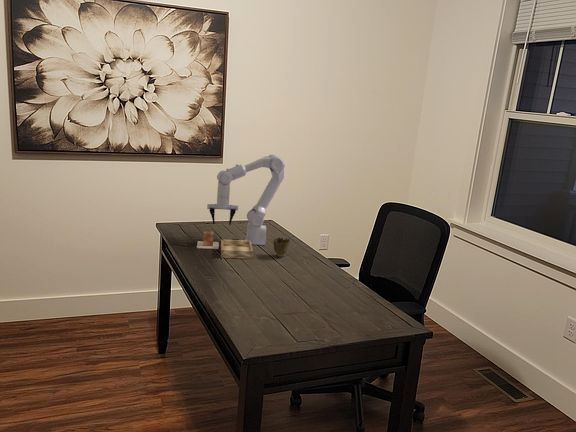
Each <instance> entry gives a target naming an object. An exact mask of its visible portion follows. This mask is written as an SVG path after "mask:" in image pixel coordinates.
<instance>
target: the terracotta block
mask: <svg viewBox="0 0 576 432" xmlns="http://www.w3.org/2000/svg"><path fill="white" fill-rule="evenodd" d="M202 241H203V246H213V242H214V231H211V230H207V231H206V230H204V231H203V239H202Z"/></svg>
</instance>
